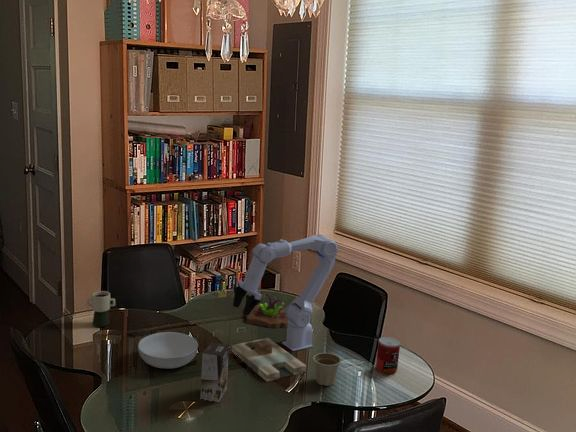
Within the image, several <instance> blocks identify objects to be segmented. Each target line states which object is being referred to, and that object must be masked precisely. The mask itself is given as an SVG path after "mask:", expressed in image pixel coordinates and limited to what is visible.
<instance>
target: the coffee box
mask: <svg viewBox="0 0 576 432" xmlns="http://www.w3.org/2000/svg"><path fill="white" fill-rule="evenodd" d="M229 349H230V347H229V344H228V343H227V344H226V343H220V342H209V344H208V345H207V347H206V348H205V349H204V351H203V352H202V356H201V357H202V358H201V375H200V376H201V377H200V378H201V379H200V381H201V382H200V400H201V399H204V400H203V401H206V400H209V401H208V402H212V401H215V402H214V403H217V402H218V403H219V402H220V401H221V399H222V398H223V396H224V395H225V393H226V391H227V390H228V369H229V368H228V367H229V366H228V365H229V351H230V350H229Z"/></svg>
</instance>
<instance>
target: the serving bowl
mask: <svg viewBox="0 0 576 432" xmlns="http://www.w3.org/2000/svg"><path fill="white" fill-rule="evenodd" d="M137 349H138V353H139V356H140V357H141V359H142V360H143V361H144V362H145V363H146V364H147V365H149V366H152V367H153V368H158V369H166V370H167V369H177V368H181V367H183V366H185V365H188V364H189V363H190V362H192V361H193V360H194V358H195V357H196V355H197V353H198V349H199V342H198V341H197V339H196V338H195V337H193V336H191V335H188V334H186V333H181V332H175V331H174V332H173V331H166V332H165V331H164V332H156V333H152V334H149V335H147V336H145V337H143V338H142V339H140V341H139V342H138V344H137Z"/></svg>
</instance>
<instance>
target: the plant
mask: <svg viewBox="0 0 576 432" xmlns="http://www.w3.org/2000/svg"><path fill="white" fill-rule="evenodd" d="M267 296H268V297H267ZM262 298H263V299H264V298H268V300H269V301H268V303H267V302H264V303H258V305H256V306H255V307H254V308H253V310H252V311H251V312H250V314H249V315H245V318H246V323H247V324H250V325H256V326H260V327H266V328H269V329H279V328H287V326H288V317H287V316H286V314H285V311H286V308H287V307H286V308H285V307H283V306H284V305H285V303H284V301H283V300H281V299H277V297H276V295H275V296H274V295H273V296H272V297H271V295H270V294H268V293H263V294H262ZM277 302H280V305H279V306H277Z"/></svg>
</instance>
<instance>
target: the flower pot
mask: <svg viewBox="0 0 576 432" xmlns="http://www.w3.org/2000/svg"><path fill="white" fill-rule="evenodd" d="M313 362H314V366H315V379H316V380H315V381H316V383H317V384H318V385H320V386H326V387H328V386H329V387H330V386H333V385H334V384H335V382H336V378H337V372H338V368H339V366H340V363H342V359H341V357H340V356H338V355H337V354H334V353H331V352H320V353H317V354H314V355H313Z"/></svg>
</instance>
